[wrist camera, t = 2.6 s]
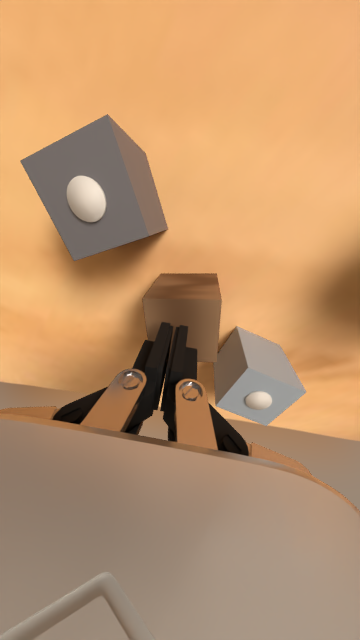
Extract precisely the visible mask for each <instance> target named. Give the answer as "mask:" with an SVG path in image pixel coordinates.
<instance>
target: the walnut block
mask: <svg viewBox="0 0 360 640" xmlns="http://www.w3.org/2000/svg"><path fill="white" fill-rule="evenodd" d="M142 300H143V307H144V314H145V322H146V329H147V336H148V340H149V341H155V339H156V336H157V333H158V331H159V328H160V325H161V322H166V323H170V326H173V333H172V340H171V346H170V351H171V347H172V342H173V338H174V334H175V329H176V327H180V325H184V326H188V334H187V343H186V347H189V348H195V349H197V362H215V363H217V352H218V339H219V326H220V314H221V301H222V299H221V294H220V289H219V283H218V278H217V274H161V275H160V276H159V277H158V278H157V280H156V281H155V282H154V284H153V285H152V286H151V288H150V289H149V290H148V292H147V293H146V294H145V296H144V297H143V298H142ZM169 356H170V353H169Z"/></svg>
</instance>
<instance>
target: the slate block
mask: <svg viewBox="0 0 360 640" xmlns="http://www.w3.org/2000/svg"><path fill="white" fill-rule="evenodd" d="M213 365H214V385H215V404H216V406H217V407H219V408H222V409H225V410H227V411H230V412H232V413H235V414H237V415H240V416H242V417H245V418H247V419H250V420H252V421H255V422H258V423H260V424H263V425H265V426H267V425H268V424H269V423H270V422H272V421H273V420H274V419H275V418H276V417H277V416H279V415H280V414H281V413H282V412H283V411H285V410H286V409H287V408H288V407H289V406H291V405H292V404H293V403H294V402H295V401H296V400H298V399H299V398H300V397H301V396H302V395H304V394H305V393H306V390H305V389H304V387H303V385H302V383H301V382H300V380H299V378H298V376H297V375H296V373H295V371H294V369H293V367H292V366H291V364H290V362H289V360H288V359H287V357H286V355H285V353H284V352H283V350H282V348H281V346H280V345H278V344H276V343H274V342H271V341H269V340H267V339H265V338H262V337H260V336H258V335H256V334H253V333H251V332H249V331H247V330H244V329H242V328H240V327H238V326H237V327H236V328H235V330H234V331H233V332H232V334H231V335H230V337H229V338H228V340H227V341H226V342H225V344H224V345H223V347H222V348H221V350H220V351H219V352H218V354H217V363H215V362H213Z"/></svg>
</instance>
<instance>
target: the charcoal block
mask: <svg viewBox="0 0 360 640" xmlns="http://www.w3.org/2000/svg"><path fill="white" fill-rule="evenodd" d="M21 163H22V165H23V167H24V169H25V171H26V173H27V174H28V176H29V178H30V180H31V182H32V184H33V186H34V187H35V189H36V191H37V193H38V195H39V197H40V199H41V200H42V202H43V204H44V206H45V208H46V210H47V212H48V214H49V215H50V217H51V219H52V221H53V223H54V225H55V227H56V228H57V230H58V232H59V234H60V236H61V238H62V240H63V241H64V243H65V245H66V247H67V249H68V251H69V253H70V255H71V256H72V258H73V260H74V261H76V260H79V259H82V258H85V257H88V256H91V255H94V254H97V253H100V252H103V251H106V250H109V249H112V248H115V247H118V246H121V245H124V244H127V243H130V242H133V241H136V240H139V239H142V238H145V237H148V236H151V235H153V234H156V233H159V232H161V231H164V230H167V229H168V227H167V224H166V221H165V217H164V214H163V210H162V207H161V204H160V200H159V197H158V194H157V190H156V187H155V184H154V180H153V177H152V173H151V170H150V167H149V163H148V160H147V157H146V153H145V152H144V151H143V150H142V149H141V148H140V147H139V146H138V145H137V144H136V143H135V142H134V141H133V140H132V139H131V138H130V137H129V136H128V135H127V134H126V133H125V132H124V131H123V130H122V129H121V128H120V127H119V126H118V125H117V124H116V123H115V121H114V120H113V119H112V118H111V117H110V116H109V115H108V114H107V115H105V116H103V117H102V118H100V119H98V120H96V121H94V122H92V123H90V124H88V125H87V126H85V127H83V128H81V129H79V130H77V131H75V132H73V133H71V134H70V135H68V136H66V137H64V138H62V139H60V140H58V141H56V142H55V143H53V144H51V145H49V146H47V147H45V148H43V149H41V150H40V151H38V152H36V153H34V154H32V155H30V156H28V157H26V158H25V159H23V160H21Z"/></svg>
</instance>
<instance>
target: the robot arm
mask: <svg viewBox="0 0 360 640" xmlns="http://www.w3.org/2000/svg"><path fill="white" fill-rule="evenodd" d="M172 333H173V326H170V323H166V322H161V325H160V328H159V331H158V333H157V336H156V339H155V341H149V340H145V341H144V343H143V346H142V348H141V350H140V352H139V355H138V357H137V359H136V361H135V364H134V366H133V368H132V369H127V370H123V371H122V372H120V373H119V374H118V375H117V376H116V377H115V379H114V380H113V381H112V383H111V384H110V385H109V386H108V387H106V388H104V389H102V390H99V391H97V392H95V393H92V394H90V395H88V396H86V397H83V398H81V399H79V400H76V401H74V402H72V403H69V404H68V405H65V406H64V407H62V408H61V409H57V408H56V406H51V407H23V408H7V409H2V410H0V640H360V511H359V510H358V509H357V508H356V507H355V506H354V505H353V504H352V503H351V502H350V501H349V500H348V499H346V497H344V496H343V495H342V494H340V493H339V492H337V491H336V490H335V489H333V488H332V487H330V486H329V485H327V484H325V483H324V482H322V481H320V480H318V479H316V478H315V477H313V476H312V475H311V473H310V472H309V470H308V469H307V468H305V467H304V466H303V465H302V464H301V463H299V462H297V461H296V460H293V459H291V458H288V457H286V456H284V455H281V454H279V453H276V452H274V451H272V450H270V449H267V448H265V447H262V446H260V445H257V444H255V443H253V442H252V443H251V444H249V443H247V442H245V440H244V439H243V438H242V436H241V435H240V434H239V433H238V432H237V431H236V430H235V429H234V428H233V427H232V426H231V425H230V424H229V423H228V422H227V421H226V420H225V419H224V418H223V417H222V416H221V415H220V414H219V413H218V412H217V411H216V410H215V409H214V408H213V407H212V406H211V405H210V404H209V403H208V399H207V394H206V390H205V388H204V386H203V385H202V384H201V383H200V382H198V381H197V349H195V348H189V347H186V343H187V334H188V326H184V325H180V327H176V329H175V334H174V338H173V342H172V347H171V351H170V346H171V340H172ZM169 353H170V356H169ZM165 374H166V375H165ZM164 378H165V382H164ZM163 383H164V389H163V396H162V403H161V410H160V411H164V415H163V419H164V421H165V422H166V424H167V425H168V441H166V440H161V439H156V438H150V437H145V436H140V435H138V434H139V432H140V429H141V427H142V425H143V421H144V420H146V419H147V418H149V417H150V416H152V414H153V410H157V409H158V405H159V401H160V396H161V392H162V387H163Z"/></svg>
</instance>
